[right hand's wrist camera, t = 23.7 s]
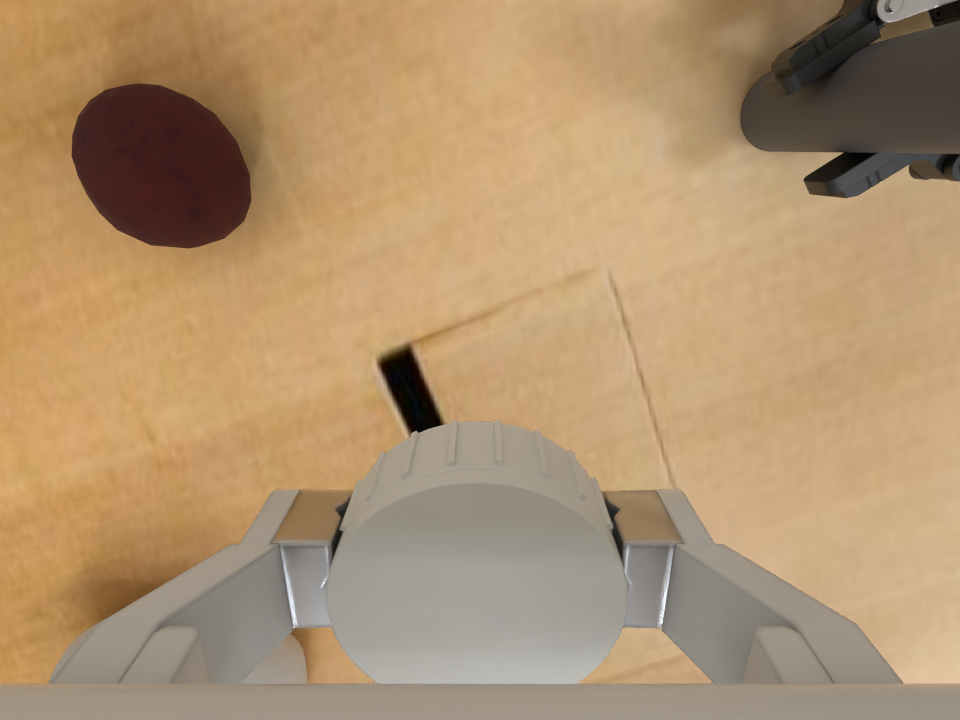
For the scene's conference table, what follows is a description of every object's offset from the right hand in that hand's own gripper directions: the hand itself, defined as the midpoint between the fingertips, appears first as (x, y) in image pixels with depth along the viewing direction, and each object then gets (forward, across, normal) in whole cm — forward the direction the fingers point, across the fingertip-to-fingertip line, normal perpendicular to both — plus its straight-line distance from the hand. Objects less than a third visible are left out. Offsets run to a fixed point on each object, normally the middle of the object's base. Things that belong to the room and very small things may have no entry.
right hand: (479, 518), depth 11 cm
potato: (+23, -15, +6) cm, 28 cm away
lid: (-2, 0, 0) cm, 2 cm away
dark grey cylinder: (+23, +16, +9) cm, 29 cm away
